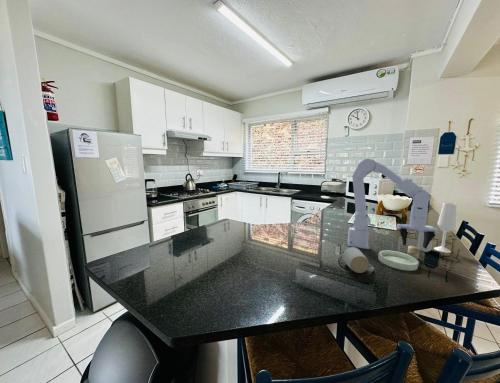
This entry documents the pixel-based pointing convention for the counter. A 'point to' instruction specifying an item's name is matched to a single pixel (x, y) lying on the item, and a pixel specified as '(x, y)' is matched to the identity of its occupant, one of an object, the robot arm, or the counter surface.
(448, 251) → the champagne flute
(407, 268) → the round tray
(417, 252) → the maple cylinder
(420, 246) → the skincare box
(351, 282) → the counter surface
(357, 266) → the ceramic mug
